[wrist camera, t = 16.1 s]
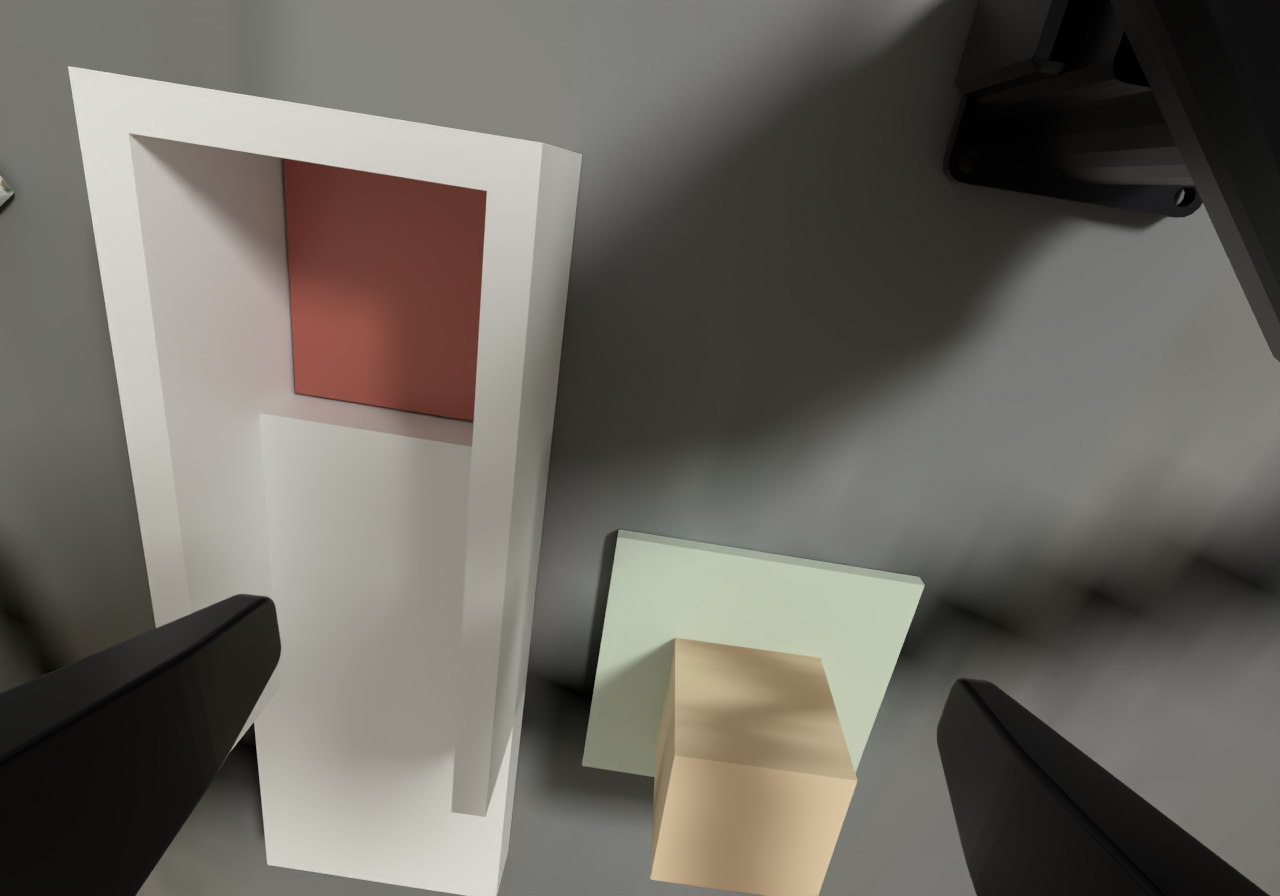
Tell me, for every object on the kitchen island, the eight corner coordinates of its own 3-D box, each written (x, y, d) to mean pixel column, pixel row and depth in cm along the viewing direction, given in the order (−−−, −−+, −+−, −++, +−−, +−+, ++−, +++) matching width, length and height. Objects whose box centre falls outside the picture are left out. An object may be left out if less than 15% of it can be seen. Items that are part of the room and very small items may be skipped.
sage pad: (919, 576, 22) (924, 585, 21) (839, 795, 26) (842, 806, 25) (618, 529, 22) (617, 536, 21) (583, 755, 25) (581, 765, 25)
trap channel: (581, 154, 18) (542, 142, 12) (507, 851, 28) (469, 1003, 23) (246, 100, 18) (67, 65, 12) (295, 819, 28) (208, 962, 23)
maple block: (820, 657, 23) (857, 780, 18) (789, 766, 24) (815, 902, 20) (675, 637, 23) (674, 755, 18) (655, 747, 24) (650, 879, 20)
